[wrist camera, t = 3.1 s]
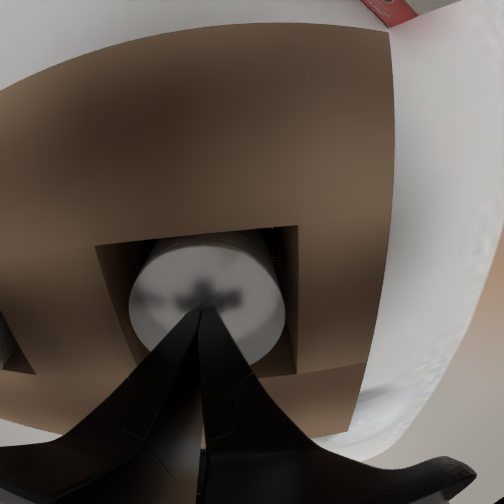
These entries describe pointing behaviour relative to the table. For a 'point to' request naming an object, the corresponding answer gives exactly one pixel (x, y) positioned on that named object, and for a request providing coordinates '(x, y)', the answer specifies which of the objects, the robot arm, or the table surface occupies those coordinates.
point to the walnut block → (196, 204)
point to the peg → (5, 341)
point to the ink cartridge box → (403, 9)
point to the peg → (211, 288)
